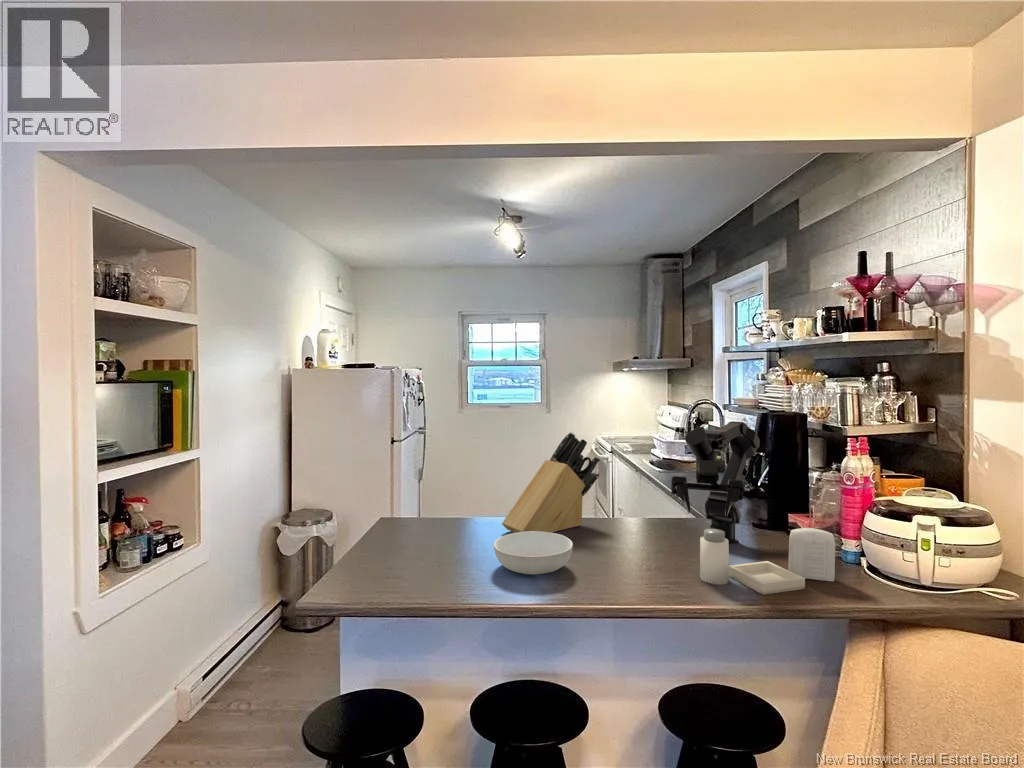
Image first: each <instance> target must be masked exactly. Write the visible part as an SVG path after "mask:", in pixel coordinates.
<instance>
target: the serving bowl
mask: <svg viewBox="0 0 1024 768" xmlns="http://www.w3.org/2000/svg"><path fill="white" fill-rule="evenodd" d="M573 546H574V544H573V541H572V540H571V539H570V538H568V537H567V536H565V535H563V534H561V533H556V532H555V533H554V532H551V533H550V532H540V531H527V532H517V533H515V532H513V533H509V534H505V535H502V536H500V537H498V538H497V539H495V541H494V542H493V550H494V555H495V557H496V559H497V561H498V563H500V564H501V565H502V566H503V567H504V568H506V569H507V570H509V571H512V572H514V573H518V574H524V575H543V574H549V573H552V572H555V571H557V570H559V569H561V568H562V567H564V566H565V565H566V564H567V563H568V561H569V560H570V558H571V556H572V552H573Z"/></svg>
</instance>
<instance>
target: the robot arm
mask: <svg viewBox="0 0 1024 768" xmlns="http://www.w3.org/2000/svg"><path fill="white" fill-rule="evenodd" d="M684 441H685V443H686V444H687V447H688V448H689V449H688V450H690V452H691V454H692V455H693V456H694V457H695V481H688V480H687V476H684V475H682V476H681V475H673V476H672V477H671V491H670V492H671V495H674V496H676V498H679V499H680V500H681V501H682V503H683V505H684V506H685V509H686V511H687V513H688V514H690V513H691V503H690V496H689V490H696V491H703V492H709V494H708V496H707V499H706V500H705V503H704V509H705V515H706V516H705V517H706V519H707V520H710V521H711V524H710V525H709V527H710V528H709V529H718V530H722V531H724V532H725V538H726V539H728V541H729V544H734V543H739V539H737V538H736V525H737V524H740V522H741V512H740V511H739V508H738V504H737V502H739V501H742V500H744V496H745V488H746V485H745V482H744V481H743V480H741V477H742V475H743V471H744V469H745V466H746V465H747V464H746V463H747V461H748V460H750V459H751V458H752V457H754V456H755V455H756V453H757V451H758V449H759V448H760V444H761V442H760V437H759V436H758V434H757V432H756V431H754V430H753V429H752V428H751V427H749V426H748V425H747V423H746V422H744V421H729V422H727V424H725V425H723V426H721V427H719V428H717V429H705V428H704V426H695V428H694V429H692V430H690V431H688V432H687V433H686V434H685V435H684ZM729 446H730V449H731V455H730V458H729V459H728V462H727V465H726V460H725V459H717V455H718V454H717V452H716V451H720V452H724V451H725V450H726V449H727V448H728V447H729ZM719 474H723V476H722V479H721V481H720V482H719V479H720V478H719ZM719 483H720V484H719Z"/></svg>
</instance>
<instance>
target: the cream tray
mask: <svg viewBox="0 0 1024 768" xmlns="http://www.w3.org/2000/svg"><path fill="white" fill-rule="evenodd" d="M728 577H729V578H733V579H734V580H736V581H738V582H740V583H741V584H743V585H745V586H747V587H748V588H750V589H752V590H754V591H756V592H758V593H759V594H761V595H770V594H777V593H784V592H791V591H799V590H805V589H806V579H805V578H803V577H801V576H799V575H797V574H795V573H793V572H790V571H788V569H786V568H784V567H781V566H780V565H777V564H775V563H773V562H770V561H769V560H765V561H764V560H763V561H756V562H748V563H740V564H731V565H728Z"/></svg>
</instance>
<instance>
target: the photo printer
mask: <svg viewBox="0 0 1024 768" xmlns="http://www.w3.org/2000/svg"><path fill="white" fill-rule="evenodd" d="M788 537H789V538H788V568H787V570H788V571H790V572H793V573H795V574H797V575H799V576H801V577H803V578H805V580H814V581H815V580H816V581H822V582H825V581H826V582H835V570H836V566H835V565H836V563H835V562H836V540H835V536H834V534H833V533H831V532H829V531H827V530H823V529H819V528H818V529H817V528H812V527H802V528H794V529H791V530H790V534H789V536H788Z"/></svg>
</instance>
